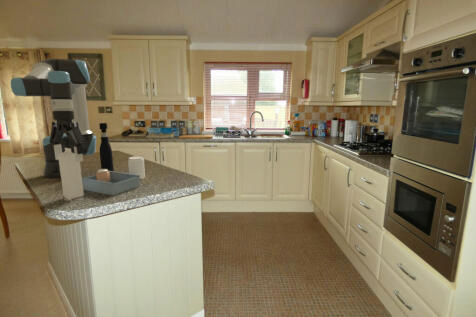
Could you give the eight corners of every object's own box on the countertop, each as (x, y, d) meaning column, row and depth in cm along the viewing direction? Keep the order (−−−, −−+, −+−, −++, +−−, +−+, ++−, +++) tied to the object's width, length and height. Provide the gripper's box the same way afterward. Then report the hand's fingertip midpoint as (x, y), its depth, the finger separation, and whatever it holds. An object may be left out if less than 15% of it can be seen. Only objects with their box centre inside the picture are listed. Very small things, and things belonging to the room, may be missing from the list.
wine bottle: (106, 176, 154) (101, 123, 148) (99, 175, 157) (94, 123, 152) (116, 174, 159) (111, 123, 154) (109, 173, 163) (105, 122, 157)
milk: (78, 194, 124) (72, 146, 120) (84, 197, 120) (78, 147, 116) (63, 198, 119) (57, 148, 115) (69, 200, 116) (63, 149, 112)
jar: (94, 186, 134) (92, 170, 133) (105, 183, 140) (103, 168, 138) (103, 187, 132) (101, 172, 130) (113, 184, 137) (111, 169, 135)
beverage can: (140, 181, 145) (138, 159, 143) (126, 180, 147) (124, 158, 145) (147, 177, 153) (146, 156, 151) (135, 176, 155) (133, 155, 152)
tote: (79, 190, 130) (78, 178, 129) (109, 181, 144) (108, 170, 143) (113, 197, 120) (111, 183, 119) (140, 187, 135) (139, 175, 134)
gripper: (35, 110, 114) (42, 159, 118) (73, 110, 104) (79, 164, 108) (53, 110, 121) (59, 157, 125) (91, 110, 110) (96, 161, 114)
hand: (69, 160), depth 116 cm, fingers open, 13 cm apart
